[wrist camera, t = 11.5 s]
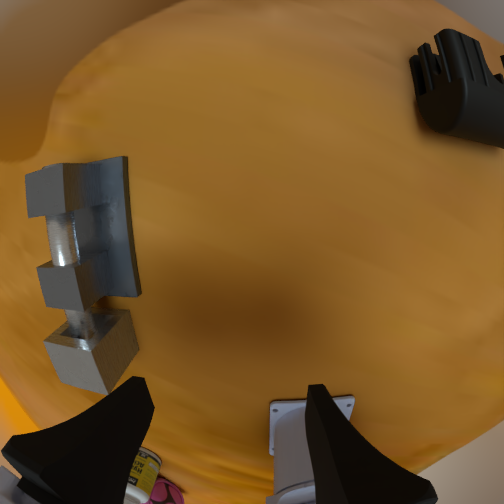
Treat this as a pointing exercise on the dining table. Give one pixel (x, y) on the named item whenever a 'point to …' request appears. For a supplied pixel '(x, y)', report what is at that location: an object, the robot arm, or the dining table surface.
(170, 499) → the pencil case
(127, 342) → the collar
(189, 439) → the dining table surface
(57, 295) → the shaft stand
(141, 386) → the robot arm
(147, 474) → the supplement bottle
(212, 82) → the dining table surface
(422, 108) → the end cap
